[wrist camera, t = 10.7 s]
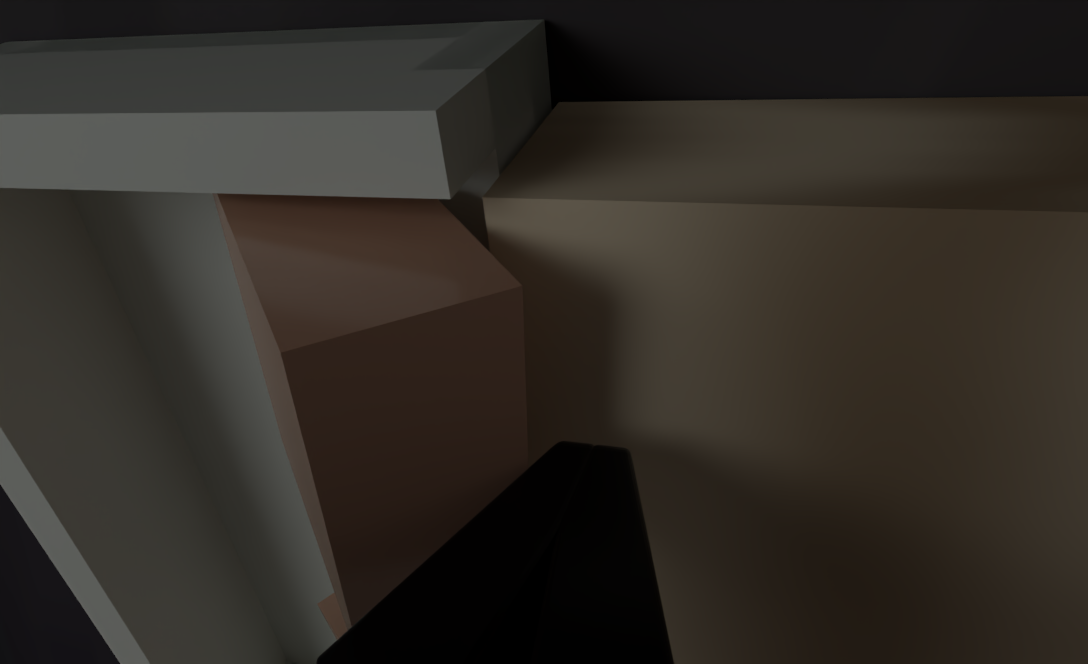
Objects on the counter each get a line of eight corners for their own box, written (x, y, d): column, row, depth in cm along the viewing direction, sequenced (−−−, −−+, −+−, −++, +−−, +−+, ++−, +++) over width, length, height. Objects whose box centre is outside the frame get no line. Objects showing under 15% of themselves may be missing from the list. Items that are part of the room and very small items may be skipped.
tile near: (522, 285, 6) (280, 353, 6) (532, 613, 9) (367, 690, 8) (367, 127, 10) (201, 155, 9) (407, 398, 12) (281, 439, 11)
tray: (544, 19, 9) (435, 110, 6) (603, 711, 17) (566, 884, 14) (8, 42, 11) (-246, 116, 9) (285, 644, 20) (200, 783, 17)
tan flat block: (1466, 91, 7) (1798, 229, 5) (1087, 753, 14) (1148, 950, 11) (558, 101, 10) (482, 197, 7) (603, 660, 16) (570, 807, 14)
